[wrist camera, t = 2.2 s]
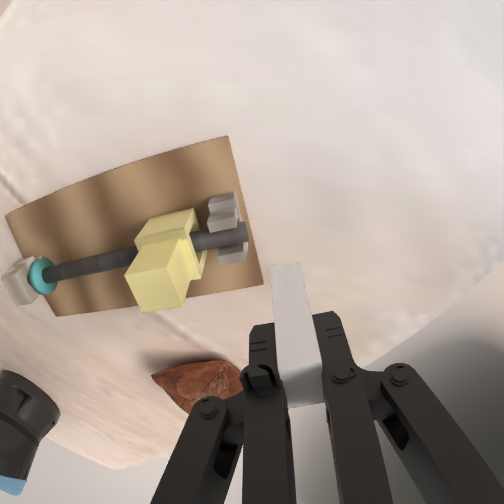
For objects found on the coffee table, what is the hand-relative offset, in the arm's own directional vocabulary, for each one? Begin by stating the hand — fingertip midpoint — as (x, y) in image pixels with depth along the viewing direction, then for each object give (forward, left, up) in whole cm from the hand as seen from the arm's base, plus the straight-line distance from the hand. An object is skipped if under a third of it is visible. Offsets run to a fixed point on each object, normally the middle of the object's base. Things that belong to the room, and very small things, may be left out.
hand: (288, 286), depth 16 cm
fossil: (-11, -19, -12) cm, 25 cm away
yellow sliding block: (-8, 0, -10) cm, 13 cm away
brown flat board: (-15, 0, -12) cm, 19 cm away
